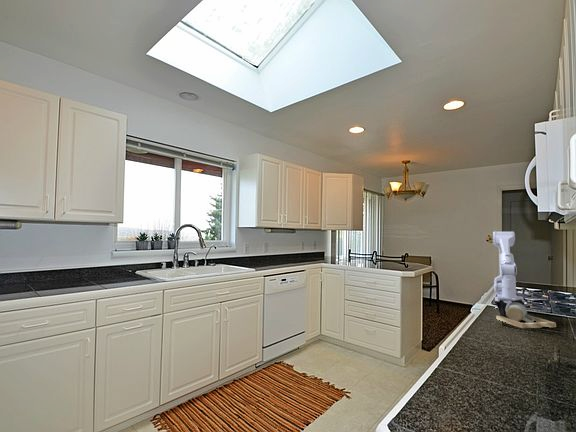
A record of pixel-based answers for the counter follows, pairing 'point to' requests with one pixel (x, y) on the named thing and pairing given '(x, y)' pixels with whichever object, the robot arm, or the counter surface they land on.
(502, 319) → the bent wooden beam
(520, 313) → the ceramic mug
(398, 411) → the counter surface
